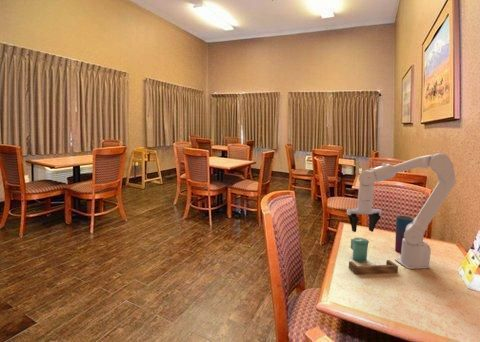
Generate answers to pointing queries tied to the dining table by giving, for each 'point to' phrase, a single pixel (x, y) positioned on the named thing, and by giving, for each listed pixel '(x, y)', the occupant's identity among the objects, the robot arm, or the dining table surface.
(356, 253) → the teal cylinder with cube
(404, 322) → the dining table surface
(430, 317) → the dining table surface
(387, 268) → the dock
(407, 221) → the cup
